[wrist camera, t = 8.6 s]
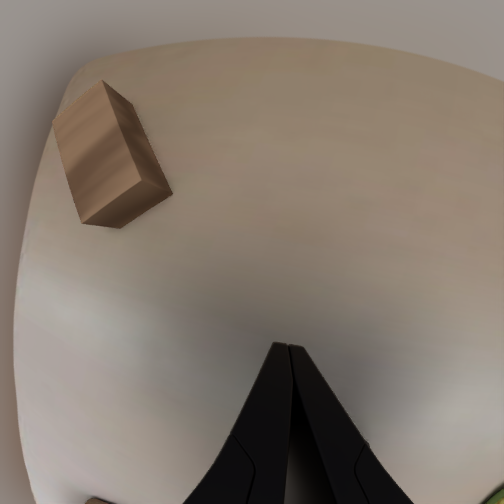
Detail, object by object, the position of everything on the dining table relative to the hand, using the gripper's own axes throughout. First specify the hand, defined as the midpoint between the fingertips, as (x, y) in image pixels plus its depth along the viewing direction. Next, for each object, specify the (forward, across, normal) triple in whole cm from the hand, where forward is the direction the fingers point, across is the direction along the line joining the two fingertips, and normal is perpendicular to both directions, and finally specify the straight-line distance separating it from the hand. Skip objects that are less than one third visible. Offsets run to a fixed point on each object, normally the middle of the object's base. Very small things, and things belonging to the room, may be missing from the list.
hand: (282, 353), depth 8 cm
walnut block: (+12, +9, +3) cm, 16 cm away
